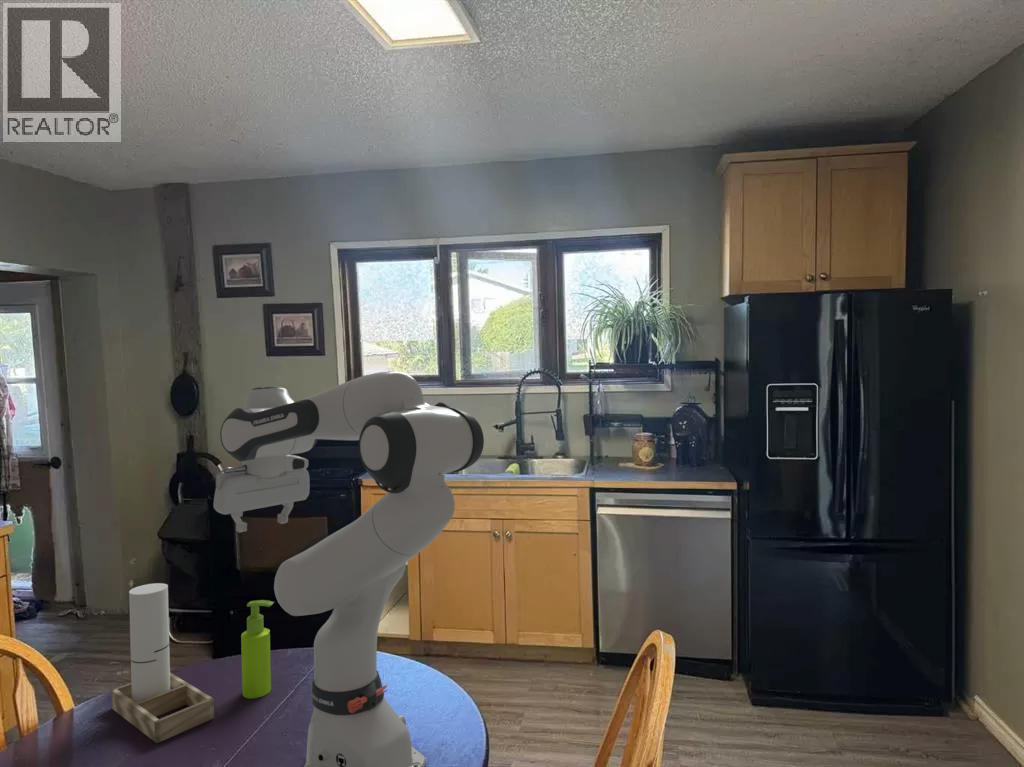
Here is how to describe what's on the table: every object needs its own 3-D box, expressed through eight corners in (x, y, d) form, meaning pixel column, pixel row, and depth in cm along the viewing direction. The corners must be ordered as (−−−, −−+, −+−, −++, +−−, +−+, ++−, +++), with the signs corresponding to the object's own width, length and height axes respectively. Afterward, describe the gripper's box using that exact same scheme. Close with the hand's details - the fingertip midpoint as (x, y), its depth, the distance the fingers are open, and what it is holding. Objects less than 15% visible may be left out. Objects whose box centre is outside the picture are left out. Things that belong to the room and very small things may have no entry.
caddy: (214, 718, 130) (213, 698, 130) (156, 743, 121) (156, 722, 121) (166, 687, 143) (166, 670, 143) (111, 708, 134) (111, 689, 134)
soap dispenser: (269, 698, 138) (267, 606, 137) (237, 698, 138) (235, 606, 138) (279, 685, 144) (277, 596, 143) (249, 685, 144) (247, 597, 143)
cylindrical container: (177, 703, 136) (174, 586, 136) (142, 718, 130) (139, 596, 130) (160, 694, 140) (157, 581, 140) (125, 708, 134) (122, 590, 134)
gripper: (224, 471, 124) (222, 541, 125) (315, 459, 140) (312, 521, 141) (208, 465, 128) (206, 533, 129) (298, 454, 144) (295, 515, 145)
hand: (262, 526), depth 135 cm, fingers open, 8 cm apart
